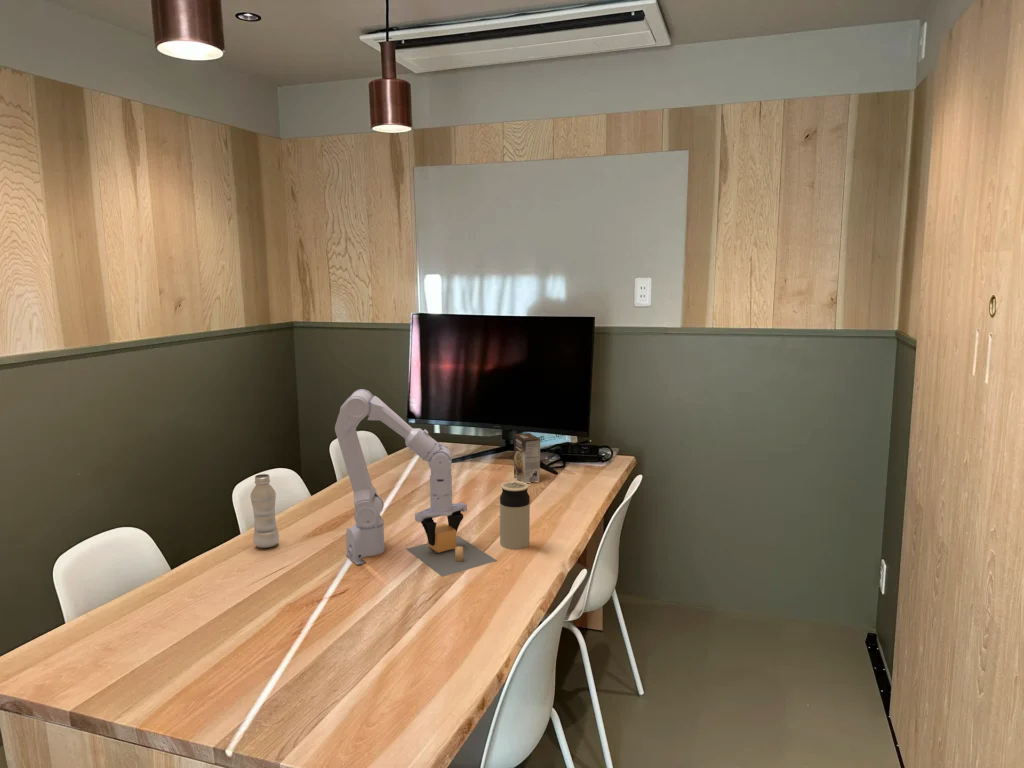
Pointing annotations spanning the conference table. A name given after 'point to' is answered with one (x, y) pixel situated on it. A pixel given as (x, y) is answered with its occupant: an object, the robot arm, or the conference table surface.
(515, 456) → the coffee box
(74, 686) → the conference table surface
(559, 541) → the conference table surface
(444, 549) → the wooden toy cube
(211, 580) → the conference table surface
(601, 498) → the conference table surface
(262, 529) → the plastic bottle
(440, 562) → the board
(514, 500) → the travel mug
